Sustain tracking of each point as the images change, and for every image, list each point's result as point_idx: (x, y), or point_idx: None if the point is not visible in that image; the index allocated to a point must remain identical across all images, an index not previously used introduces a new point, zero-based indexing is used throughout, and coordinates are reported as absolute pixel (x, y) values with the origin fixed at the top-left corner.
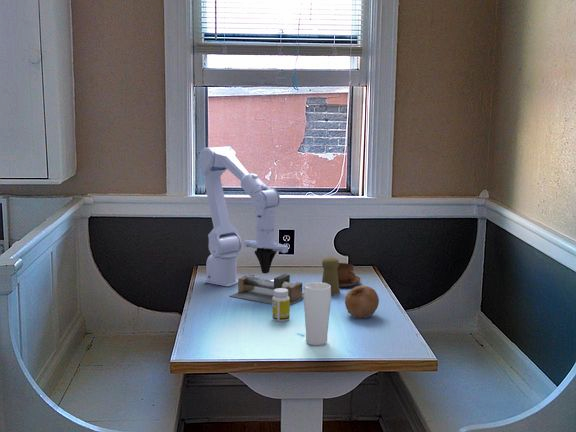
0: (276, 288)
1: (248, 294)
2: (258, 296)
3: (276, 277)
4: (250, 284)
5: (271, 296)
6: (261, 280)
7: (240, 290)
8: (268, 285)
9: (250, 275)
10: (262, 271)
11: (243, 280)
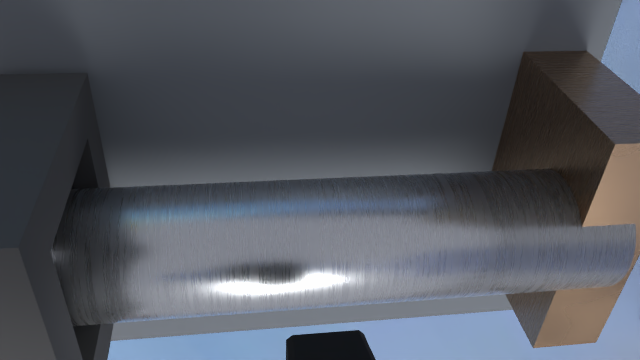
0: (9, 145)
1: (453, 58)
2: (312, 56)
3: (33, 309)
4: (491, 171)
5: (182, 131)
6: (348, 239)
7: (573, 66)
8: (212, 198)
9: (568, 313)
10: (353, 350)
11: (602, 144)
